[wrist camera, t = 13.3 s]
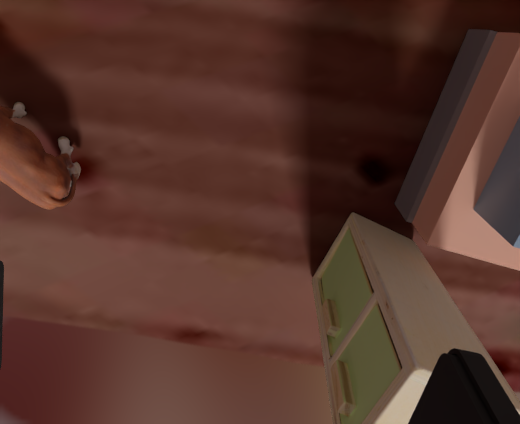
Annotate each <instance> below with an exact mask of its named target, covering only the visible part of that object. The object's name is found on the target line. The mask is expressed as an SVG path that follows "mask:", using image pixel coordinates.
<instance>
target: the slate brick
mask: <svg viewBox="0 0 520 424" xmlns="http://www.w3.org/2000/svg"><path fill="white" fill-rule="evenodd" d="M473 210H474V211H475V212H477V213H478V214H479V215H480V216H481V217H482V218H483V219H484V220H485V221H486V222H487V223H488V224H489V225H490V226H491V227H493V228H494V229H495V230H496V231H497V232H498V233H499V234H500V235H501V236H502V237H503V238H504V239H505V240H506V241H507V242H509V243H510V244H511V245H512V246H513V247H516V248H519V249H520V116H519V118H518V120H517V122H516V124H515V126H514V128H513V130H512V132H511V134H510V136H509V138H508V140H507V142H506V144H505V146H504V148H503V150H502V152H501V154H500V156H499V158H498V160H497V162H496V164H495V166H494V168H493V171H492V173H491V175H490V177H489V179H488V181H487V183H486V185H485V187H484V189H483V191H482V193H481V195H480V197H479V199H478V201H477V203H476V205H475V207H474V209H473Z"/></svg>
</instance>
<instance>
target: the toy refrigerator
mask: <svg viewBox="0 0 520 424" xmlns="http://www.w3.org/2000/svg"><path fill="white" fill-rule="evenodd" d="M312 286H313V292H314V299H315V305H316V312H317V318H318V325H319V331H320V338H321V345H322V352H323V359H324V365H325V372H326V380H327V387H328V393H329V401H330V407H331V414H332V420H333V424H408V423H409V420H410V418H411V416H412V414H413V412H414V410H415V408H416V406H417V403H418V401H419V399H420V397H421V395H422V393H423V391H424V389H425V386H426V384H427V382H428V380H429V378H430V376H431V374H432V372H433V369H434V367H435V365H436V363H437V361H438V359H439V357H440V355H442V354H443V353H448V352H449V351H450V350H451V349H454V348H456V349H461V350H466V351H471V352H475V353H479V354H482V356H483V357H484V358H485V359H486V361H487V363H488V364H489V366H490V368H491V369H492V371H493V372H494V374H495V376H496V377H497V379H498V381H499V382H500V384H501V385H502V387H503V389H504V390H505V392H506V394H507V395H508V397H509V398H510V400H511V402H512V403H513V405H514V407H515V408H516V410H517V411H518V413H519V415H520V401H519V400H518V398H517V397H516V395H515V393H514V392H513V390H512V389H511V387H510V386H509V384H508V383H507V381H506V380H505V378H504V377H503V375H502V374H501V372H500V371H499V369H498V368H497V366H496V365H495V363H494V362H493V360H492V359H491V357H490V355H489V354H488V352H487V351H486V349H485V348H484V346H483V345H482V343H481V342H480V340H479V339H478V337H477V336H476V335H475V333H474V332H473V330H472V329H471V327H470V326H469V324H468V323H467V321H466V320H465V318H464V317H463V315H462V314H461V312H460V310H459V309H458V307H457V306H456V304H455V303H454V301H453V300H452V298H451V297H450V295H449V293H448V292H447V290H446V289H445V287H444V286H443V285H442V283H441V281H440V280H439V278H438V277H437V275H436V274H435V272H434V271H433V269H432V268H431V266H430V265H429V263H428V262H427V260H426V259H425V257H424V256H423V254H422V253H421V251H420V249H419V248H418V247H417V245H416V244H415V242H414V241H413V240H411V239H409V238H407V237H405V236H403V235H401V234H398V233H396V232H394V231H392V230H390V229H388V228H386V227H384V226H381V225H379V224H377V223H375V222H373V221H371V220H369V219H367V218H365V217H362V216H360V215H358V214H356V213H351V214H350V216H349V217H348V219H347V221H346V222H345V224H344V226H343V227H342V229H341V231H340V233H339V234H338V236H337V238H336V239H335V241H334V243H333V244H332V246H331V248H330V249H329V251H328V253H327V255H326V256H325V258H324V260H323V261H322V263H321V265H320V266H319V268H318V270H317V271H316V273H315V275H314V276H313V278H312Z"/></svg>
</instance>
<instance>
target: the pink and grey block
mask: <svg viewBox="0 0 520 424" xmlns="http://www.w3.org/2000/svg"><path fill="white" fill-rule="evenodd" d="M519 116H520V33H507V32H496V31H493V30H481V29H468V31H467V34H466V36H465V39H464V41H463V43H462V46H461V48H460V50H459V53H458V55H457V57H456V60H455V62H454V64H453V67H452V69H451V72H450V74H449V76H448V79H447V81H446V83H445V86H444V88H443V90H442V93H441V95H440V97H439V100H438V102H437V104H436V107H435V109H434V112H433V114H432V116H431V119H430V121H429V123H428V126H427V128H426V130H425V133H424V135H423V137H422V140H421V142H420V144H419V147H418V149H417V152H416V154H415V156H414V159H413V161H412V163H411V166H410V168H409V170H408V173H407V175H406V177H405V180H404V182H403V185H402V187H401V189H400V192H399V194H398V196H397V199H396V201H395V203H394V204H395V206H396V207H397V209H398V210H399V212H400V213H401V214H402V216H403V217H404V219H405V220H406V222H410V223H412V224H413V225H414V227H415V228H416V230H417V231H418V233H419V234H420V235H421V237H422V238H423V240H424V241H425V243H426V244H427V245H430V246H434V247H437V248H441V249H444V250H448V251H451V252H455V253H459V254H462V255H466V256H469V257H473V258H476V259H480V260H483V261H487V262H491V263H494V264H498V265H501V266H505V267H508V268H512V269H515V270H519V271H520V249H519V248H516V247H513V246H512V245H511V244H510V243H509V242H507V241H506V240H505V239H504V238H503V237H502V236H501V235H500V234H499V233H498V232H497V231H496V230H495V229H494V228H493V227H491V226H490V225H489V224H488V223H487V222H486V221H485V220H484V219H483V218H482V217H481V216H480V215H479V214H478V213H477V212H475V211H474V210H473V209H474V207H475V205H476V203H477V201H478V199H479V197H480V195H481V193H482V191H483V189H484V187H485V185H486V183H487V181H488V179H489V177H490V175H491V173H492V171H493V168H494V166H495V164H496V162H497V160H498V158H499V156H500V154H501V152H502V150H503V148H504V146H505V144H506V142H507V140H508V138H509V136H510V134H511V132H512V130H513V128H514V126H515V124H516V122H517V120H518V118H519Z"/></svg>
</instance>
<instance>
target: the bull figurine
mask: <svg viewBox="0 0 520 424" xmlns="http://www.w3.org/2000/svg"><path fill="white" fill-rule="evenodd" d="M26 114H27V112H25V106H24V104H23V103H21V102H17V103H15V104H14V107H13V109H11V108H9V107H2V106H0V181H1V182H3V183H5V184H6V185H8V186H9V187H11V188H12V189H13V190H14V191H16V192H17V193H18V194H20V195H21V196H22V197H24V198H25V199H27V200H29V201H30V202H32V203H34V204H35V205H37V206H40V207H42V208H45V209H54V208H56V207H62V206H65V205H67V204H68V203H70V202H71V200H72V199H73V197H74V194H75V187H76V181H77V179H78V177H79V175H80V170H81V168H80V165H79V164H78V163H77V162H75V163H72V161H71V158H70V155H71V152H72V151H73V147H71V146H70V140H69V139H68V138H67V137H64V136H62V137H60V138H58V144H59V148H60V150H61V154H60V155H59V156H58V157H54V156H53V155H51V154H48V153H46V152H45V151H44V149H43V146H42V144H41V143H40V141H39V139H38V138H37V137H36V135H35V134H34V133H33V132H31V131H30V130H29V129H27V128H26V127H24V126H22V125H19V124H17V123H14V122H13V121H12V120H11V118H13V117H17V118H22V116H25V115H26ZM70 176H71V177H70ZM71 178H72V181H71ZM70 186H71V189H70V192H69V195H68V190H69V187H70ZM66 195H68V196H67V197H65V196H66ZM63 197H65V198H63Z"/></svg>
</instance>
